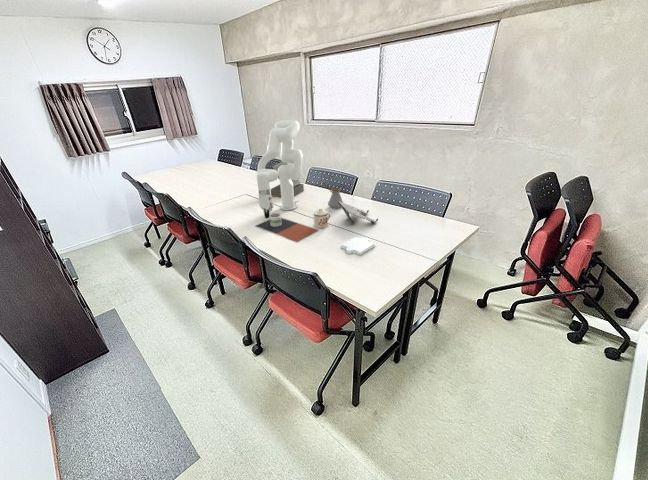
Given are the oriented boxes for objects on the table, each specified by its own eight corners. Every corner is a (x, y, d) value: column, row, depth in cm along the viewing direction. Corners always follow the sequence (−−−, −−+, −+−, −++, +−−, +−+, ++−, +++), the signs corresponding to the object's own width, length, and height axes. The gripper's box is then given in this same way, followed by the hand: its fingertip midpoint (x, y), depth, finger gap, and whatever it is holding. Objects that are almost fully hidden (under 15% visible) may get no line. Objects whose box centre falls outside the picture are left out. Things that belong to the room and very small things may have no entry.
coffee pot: (346, 207, 210) (347, 187, 202) (334, 211, 206) (334, 190, 198) (329, 200, 226) (329, 181, 218) (317, 203, 222) (317, 184, 214)
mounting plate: (357, 257, 149) (357, 254, 148) (338, 249, 158) (338, 246, 157) (377, 244, 159) (377, 241, 158) (358, 238, 168) (358, 235, 167)
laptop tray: (373, 233, 184) (380, 221, 180) (343, 223, 177) (350, 209, 173) (360, 220, 203) (366, 208, 199) (333, 210, 196) (339, 197, 192)
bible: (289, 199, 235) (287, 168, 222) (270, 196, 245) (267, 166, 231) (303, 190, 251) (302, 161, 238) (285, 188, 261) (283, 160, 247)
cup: (276, 221, 197) (275, 212, 194) (284, 223, 192) (283, 214, 189) (267, 224, 193) (266, 215, 189) (275, 227, 188) (274, 218, 184)
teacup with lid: (319, 229, 181) (318, 212, 175) (311, 225, 188) (310, 208, 182) (334, 224, 186) (334, 207, 180) (325, 220, 193) (325, 204, 187)
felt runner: (276, 216, 205) (276, 216, 204) (318, 230, 181) (318, 230, 180) (255, 226, 193) (255, 225, 193) (296, 241, 169) (296, 241, 169)
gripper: (276, 192, 184) (278, 218, 193) (261, 188, 193) (264, 213, 203) (267, 195, 179) (270, 222, 189) (252, 191, 189) (256, 217, 198)
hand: (267, 217), depth 196 cm, fingers closed
